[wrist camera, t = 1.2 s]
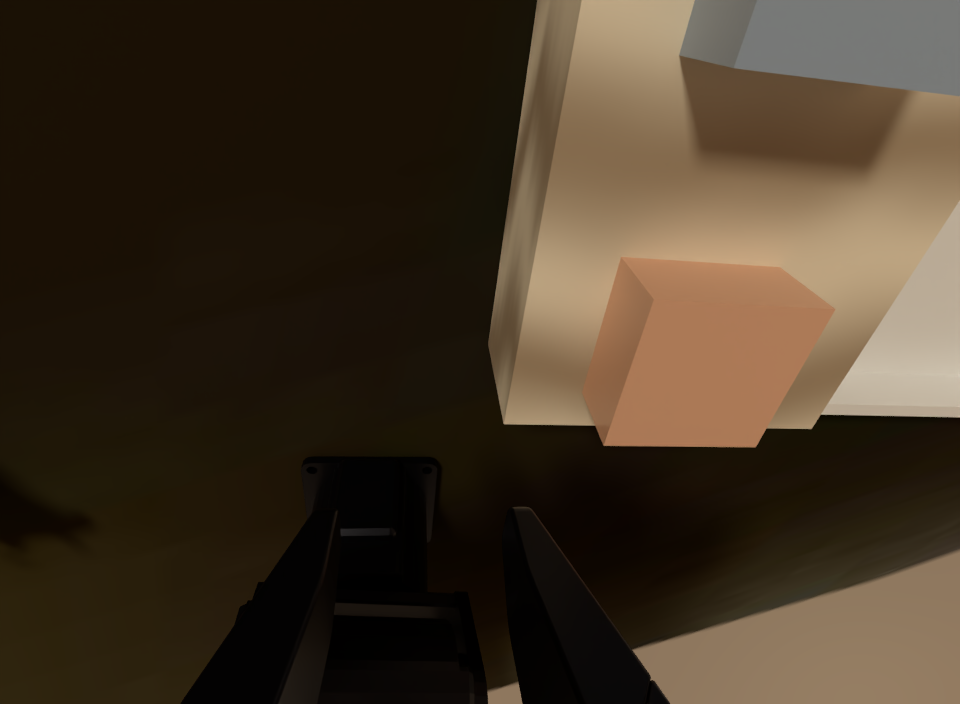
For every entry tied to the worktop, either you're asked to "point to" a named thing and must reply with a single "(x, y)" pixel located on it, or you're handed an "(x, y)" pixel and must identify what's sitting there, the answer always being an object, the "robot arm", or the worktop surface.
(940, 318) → the bin
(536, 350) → the birch board
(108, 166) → the worktop surface
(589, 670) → the robot arm
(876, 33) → the tile slate
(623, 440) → the tile terracotta
